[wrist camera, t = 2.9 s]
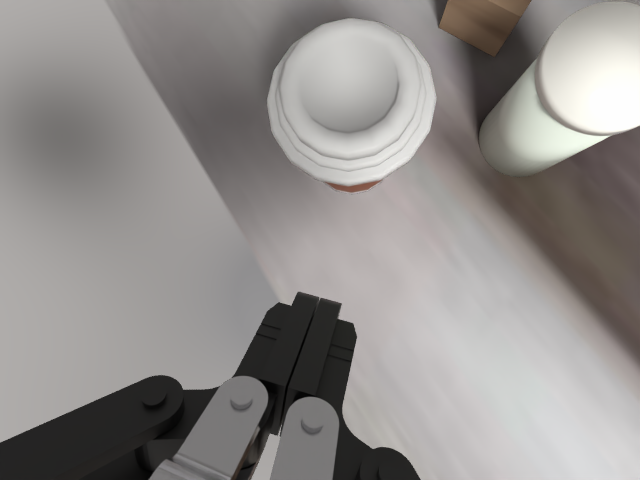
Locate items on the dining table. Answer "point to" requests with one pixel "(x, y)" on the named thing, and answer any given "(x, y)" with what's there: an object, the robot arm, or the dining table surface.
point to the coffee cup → (351, 103)
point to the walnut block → (482, 21)
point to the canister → (569, 92)
